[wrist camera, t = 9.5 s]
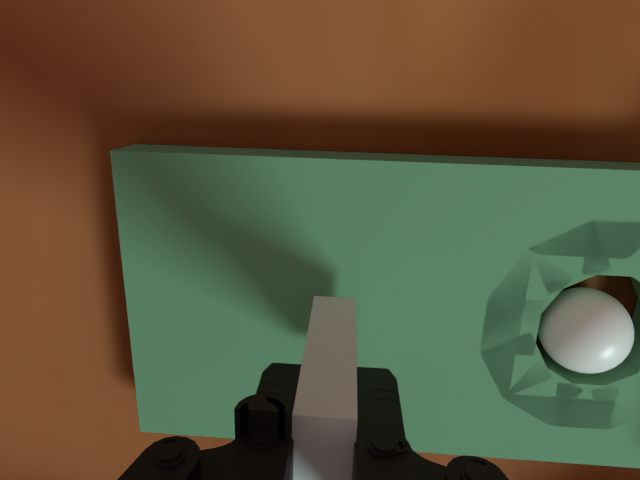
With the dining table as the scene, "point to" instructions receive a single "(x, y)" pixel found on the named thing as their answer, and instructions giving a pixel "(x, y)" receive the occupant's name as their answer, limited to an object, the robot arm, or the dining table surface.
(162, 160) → the mat
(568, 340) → the ball
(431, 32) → the dining table surface
